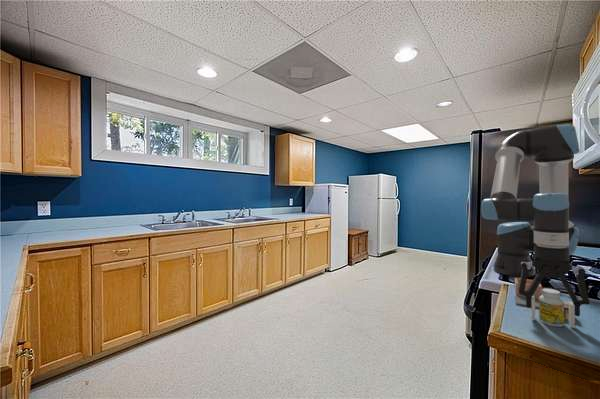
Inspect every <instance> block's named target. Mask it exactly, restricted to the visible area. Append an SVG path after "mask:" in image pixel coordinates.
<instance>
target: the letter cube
mask: <svg viewBox="0 0 600 399" xmlns="http://www.w3.org/2000/svg"><path fill="white" fill-rule="evenodd" d="M563 302H564V320H569V302H570V301H564V300H563Z"/></svg>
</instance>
